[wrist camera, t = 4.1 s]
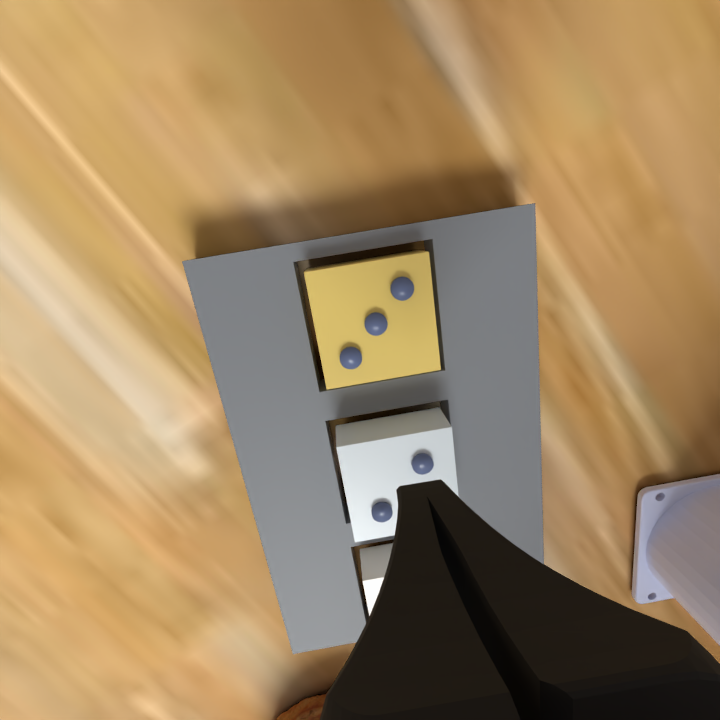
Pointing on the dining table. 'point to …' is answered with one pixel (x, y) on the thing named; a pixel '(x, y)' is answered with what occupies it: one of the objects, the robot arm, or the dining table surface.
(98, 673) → the dining table surface
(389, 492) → the tile two
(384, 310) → the tile three
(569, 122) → the dining table surface
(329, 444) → the board
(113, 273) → the dining table surface
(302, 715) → the burger
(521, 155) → the dining table surface
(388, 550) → the tile one
